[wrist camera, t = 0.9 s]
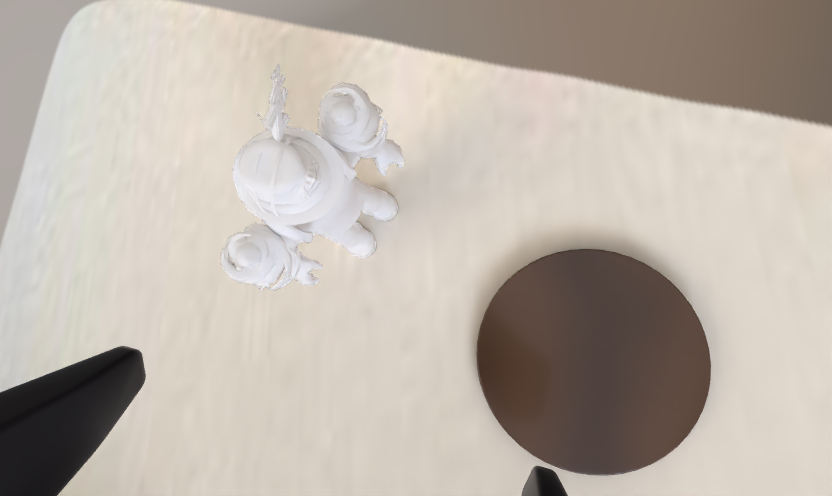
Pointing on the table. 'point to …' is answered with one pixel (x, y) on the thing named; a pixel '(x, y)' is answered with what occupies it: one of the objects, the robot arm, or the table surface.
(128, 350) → the robot arm
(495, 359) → the coaster
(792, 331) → the table surface
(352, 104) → the hat wearing toy figure
